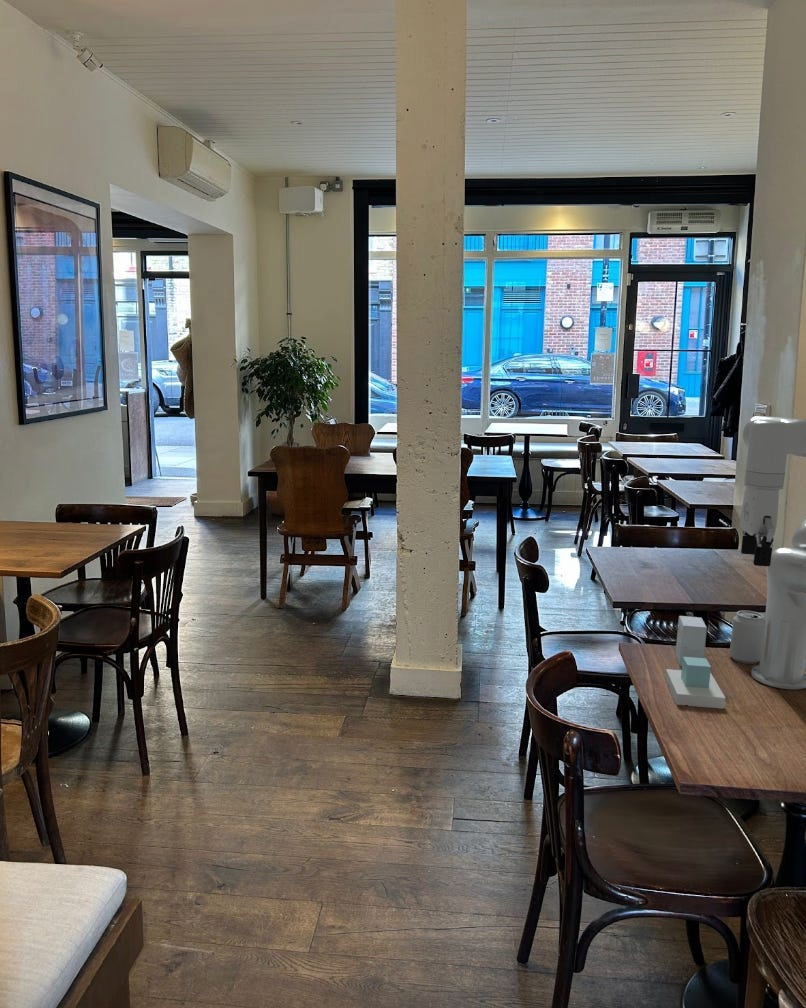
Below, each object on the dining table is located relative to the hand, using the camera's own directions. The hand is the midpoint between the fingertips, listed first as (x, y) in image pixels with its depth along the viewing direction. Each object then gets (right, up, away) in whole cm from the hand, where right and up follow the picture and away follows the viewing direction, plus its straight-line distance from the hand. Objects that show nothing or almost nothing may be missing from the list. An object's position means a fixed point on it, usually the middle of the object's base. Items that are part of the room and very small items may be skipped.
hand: (755, 559), depth 173 cm
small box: (-4, -27, +29) cm, 40 cm away
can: (+11, -27, +31) cm, 43 cm away
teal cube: (-9, -28, +10) cm, 31 cm away
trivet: (-9, -31, +10) cm, 34 cm away
